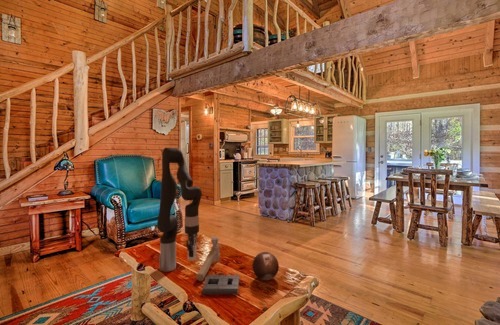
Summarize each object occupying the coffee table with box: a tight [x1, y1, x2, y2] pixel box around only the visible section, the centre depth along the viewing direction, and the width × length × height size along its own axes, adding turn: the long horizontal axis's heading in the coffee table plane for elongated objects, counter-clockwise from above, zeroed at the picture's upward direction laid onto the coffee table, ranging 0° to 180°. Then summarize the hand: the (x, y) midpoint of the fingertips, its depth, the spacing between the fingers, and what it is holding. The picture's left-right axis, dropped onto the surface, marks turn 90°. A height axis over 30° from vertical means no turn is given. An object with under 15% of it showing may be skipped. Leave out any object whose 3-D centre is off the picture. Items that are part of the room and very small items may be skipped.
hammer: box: [195, 236, 220, 282], centre depth 155 cm, size 16×5×30 cm
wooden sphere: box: [251, 251, 280, 281], centre depth 144 cm, size 15×15×15 cm
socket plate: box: [202, 274, 240, 295], centre depth 135 cm, size 18×14×3 cm
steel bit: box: [187, 242, 198, 262], centre depth 136 cm, size 4×4×8 cm
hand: (192, 254), depth 136 cm, fingers closed on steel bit, 4 cm apart
